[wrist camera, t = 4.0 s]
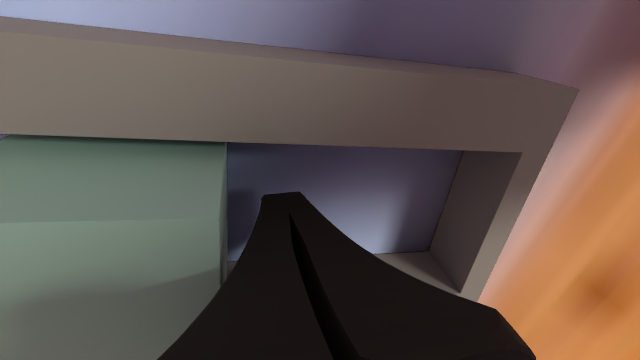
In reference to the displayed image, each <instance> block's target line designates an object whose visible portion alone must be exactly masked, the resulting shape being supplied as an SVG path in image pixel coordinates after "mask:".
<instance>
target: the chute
mask: <svg viewBox="0 0 640 360" xmlns="http://www.w3.org/2000/svg"><path fill="white" fill-rule="evenodd" d="M578 91H579V89H575V88H572V87H568V86H564V85H560V84H556V83H552V82H549V81H545V80H541V79H537V78H533V77H529V76H525V75H522V74H518V73H511V72H502V71H493V70H484V69H475V68H466V67H457V66H447V65H438V64H429V63H420V62H411V61H402V60H393V59H384V58H375V57H366V56H357V55H347V54H338V53H329V52H320V51H311V50H302V49H293V48H284V47H275V46H266V45H257V44H247V43H238V42H229V41H220V40H211V39H202V38H193V37H184V36H175V35H166V34H157V33H148V32H138V31H129V30H120V29H111V28H102V27H93V26H84V25H75V24H66V23H57V22H48V21H38V20H29V19H20V18H11V17H2V16H0V134H21V135H49V136H77V137H105V138H133V139H161V140H189V141H217V142H245V143H273V144H300V145H328V146H356V147H384V148H412V149H440V150H464V152H463V155H462V158H461V161H460V163H459V166H458V169H457V172H456V175H455V178H454V180H453V183H452V186H451V189H450V192H449V195H448V198H447V200H446V203H445V206H444V209H443V212H442V215H441V217H440V220H439V223H438V226H437V229H436V232H435V234H434V237H433V240H432V243H431V246H430V249H429V251H428V252H409V253H390V254H373V255H374V256H376V257H378V258H379V259H381V260H383V261H384V262H386V263H388V264H390V265H392V266H394V267H395V268H397V269H399V270H401V271H403V272H405V273H407V274H409V275H411V276H413V277H415V278H417V279H419V280H421V281H423V282H426V283H428V284H430V285H433V286H435V287H437V288H440V289H442V290H444V291H447V292H449V293H452V294H454V295H457V296H460V297H463V298H466V299H469V300H471V301H474V302H477V301H478V299H479V297H480V295H481V293H482V291H483V288H484V286H485V284H486V282H487V280H488V278H489V276H490V274H491V272H492V270H493V268H494V266H495V264H496V262H497V259H498V257H499V255H500V253H501V251H502V249H503V247H504V245H505V243H506V241H507V239H508V237H509V235H510V232H511V230H512V228H513V226H514V224H515V222H516V220H517V218H518V216H519V214H520V212H521V210H522V208H523V206H524V203H525V201H526V199H527V197H528V195H529V193H530V191H531V189H532V187H533V185H534V183H535V181H536V179H537V176H538V174H539V172H540V170H541V168H542V166H543V164H544V162H545V160H546V158H547V156H548V154H549V152H550V149H551V147H552V145H553V143H554V141H555V139H556V137H557V135H558V133H559V131H560V129H561V127H562V125H563V123H564V120H565V118H566V116H567V114H568V112H569V110H570V108H571V106H572V104H573V102H574V100H575V98H576V96H577V93H578ZM236 263H237V262H227V276H226V279H227V277H228V276H229V274H230V273H231V271H232V270H233V268H234V266H235V265H236Z"/></svg>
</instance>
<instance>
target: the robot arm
mask: <svg viewBox="0 0 640 360" xmlns="http://www.w3.org/2000/svg"><path fill="white" fill-rule="evenodd" d="M157 360H536V357H535V355H534V354H533V352H532V350H531V349H530V348H529V347H528V345H527V344H526V343H525V342H524V341H523V339H522V338H521V337H520V336H519V335H518V333H517V332H516V331H515V330H514V329H513V327H512V326H511V325H510V324H509V323H508V322H507V321H506V319H505V318H504V317H503V316H502V315H501V314H500V313H499V312H498V311H497V310H496V309H494V308H491V307H488V306H486V305H483V304H480V303H477V302H474V301H471V300H469V299H466V298H463V297H460V296H457V295H454V294H452V293H449V292H447V291H444V290H442V289H440V288H437V287H435V286H433V285H430V284H428V283H426V282H423V281H421V280H419V279H417V278H415V277H413V276H411V275H409V274H407V273H405V272H403V271H401V270H399V269H397V268H395V267H394V266H392V265H390V264H388V263H386V262H384V261H383V260H381V259H379V258H378V257H376V256H374V255H373V254H371V253H370V252H368V251H367V250H365V249H364V248H362V247H361V246H359V245H358V244H356V243H355V242H354V241H352V240H351V239H350V238H348V237H347V236H346V235H345V234H343V233H342V232H341V231H340V230H339V229H337V228H336V227H335V226H334V225H333V224H332V223H331V222H330V221H329V220H327V219H326V218H325V217H324V216H323V215H322V214H321V213H320V212H319V211H318V210H317V209H316V208H315V207H314V206H313V205H312V204H311V203H310V202H309V201H308V200H307V199H306V197H305V196H304V195H303V194H302V193H300V192H290V193H279V194H268V195H264V196H263V197H262V198H261V207H260V211H259V214H258V218H257V221H256V223H255V226H254V228H253V231H252V234H251V236H250V238H249V240H248V242H247V244H246V246H245V248H244V250H243V252H242V254H241V256H240V258H239V259H238V261H237V263H236V265H235V266H234V268H233V270H232V271H231V273H230V274H229V276H228V277H227V279H226V280H225V282H224V283H223V284H222V286H221V287H220V289H219V290H218V291H217V293H216V294H215V296H214V297H213V298H212V300H211V301H210V302H209V303H208V305H207V306H206V307H205V308H204V309H203V311H202V312H201V313H200V314H199V315H198V316H197V318H196V319H195V320H194V321H193V322H192V323H191V324H190V326H189V327H188V328H187V329H186V330H185V331H184V332H183V334H182V335H181V336H180V337H179V338H178V339H177V340H176V341H175V342H174V343H173V344H172V345H171V346H170V347H169V348H168V349H167V350H166V351H165V352H164V353H163V354H162V355H161V356H160V357H159V358H158V359H157Z"/></svg>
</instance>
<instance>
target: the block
mask: <svg viewBox="0 0 640 360" xmlns="http://www.w3.org/2000/svg"><path fill="white" fill-rule="evenodd" d="M226 276H227V142H217V141H189V140H161V139H133V138H105V137H77V136H49V135H21V134H10V135H8V136H6V137H5V138H3V139H1V140H0V360H157V359H158V358H159V357H160V356H161V355H162V354H163V353H164V352H165V351H166V350H167V349H168V348H169V347H170V346H171V345H172V344H173V343H174V342H175V341H176V340H177V339H178V338H179V337H180V336H181V335H182V334H183V332H184V331H185V330H186V329H187V328H188V327H189V326H190V324H191V323H192V322H193V321H194V320H195V319H196V318H197V316H198V315H199V314H200V313H201V312H202V311H203V309H204V308H205V307H206V306H207V305H208V303H209V302H210V301H211V300H212V298H213V297H214V296H215V294H216V293H217V291H218V290H219V289H220V287H221V286H222V284H223V283H224V282H225V280H226Z"/></svg>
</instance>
